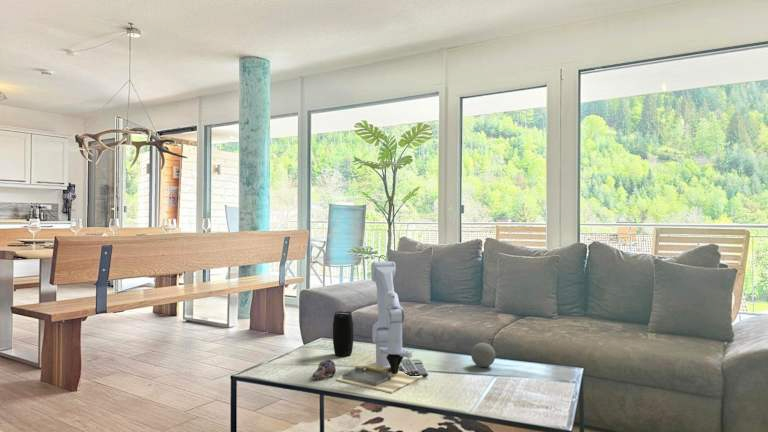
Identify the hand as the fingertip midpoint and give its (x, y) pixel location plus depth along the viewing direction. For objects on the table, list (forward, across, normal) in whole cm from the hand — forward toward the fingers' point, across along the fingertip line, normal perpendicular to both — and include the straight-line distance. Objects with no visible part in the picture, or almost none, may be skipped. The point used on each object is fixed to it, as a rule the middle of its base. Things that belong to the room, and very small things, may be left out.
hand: (395, 373), depth 205 cm
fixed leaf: (+1, -7, -9) cm, 12 cm away
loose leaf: (+1, -7, 0) cm, 7 cm away
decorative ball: (+2, +23, +33) cm, 40 cm away
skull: (+2, -24, -16) cm, 29 cm away
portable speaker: (+2, -38, +15) cm, 41 cm away
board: (+1, -4, -5) cm, 7 cm away
